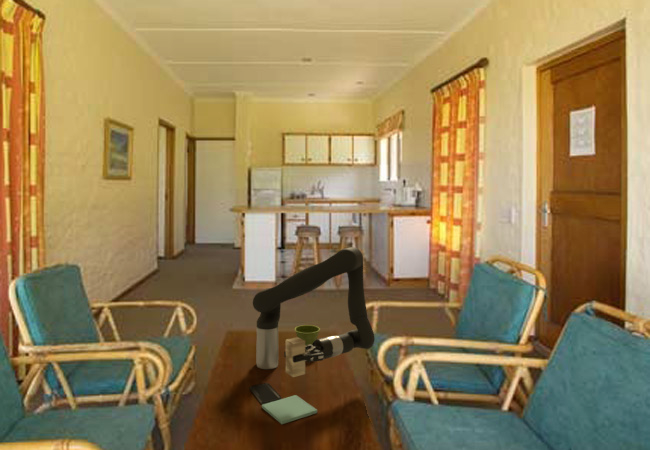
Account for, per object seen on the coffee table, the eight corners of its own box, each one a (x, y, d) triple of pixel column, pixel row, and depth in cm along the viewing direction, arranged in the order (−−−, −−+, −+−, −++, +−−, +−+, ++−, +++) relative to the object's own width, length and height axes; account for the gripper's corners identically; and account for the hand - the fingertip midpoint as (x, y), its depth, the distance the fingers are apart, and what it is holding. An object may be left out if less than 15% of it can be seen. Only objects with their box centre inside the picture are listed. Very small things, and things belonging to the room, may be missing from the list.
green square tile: (261, 407, 165) (261, 404, 165) (295, 397, 173) (295, 394, 173) (281, 424, 154) (281, 421, 154) (317, 412, 162) (317, 410, 162)
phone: (267, 382, 184) (282, 398, 171) (267, 385, 184) (282, 401, 171) (248, 386, 181) (261, 402, 167) (248, 389, 181) (261, 405, 168)
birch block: (285, 372, 168) (285, 339, 166) (297, 369, 170) (297, 337, 169) (293, 377, 164) (293, 343, 162) (305, 373, 166) (305, 340, 165)
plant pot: (289, 353, 218) (289, 329, 217) (303, 346, 228) (303, 323, 227) (310, 358, 212) (310, 334, 211) (324, 351, 222) (324, 327, 221)
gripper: (316, 332, 180) (278, 341, 170) (339, 342, 169) (300, 352, 159) (316, 351, 181) (278, 361, 171) (339, 363, 169) (300, 374, 159)
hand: (289, 357), depth 165 cm, fingers closed on birch block, 5 cm apart
